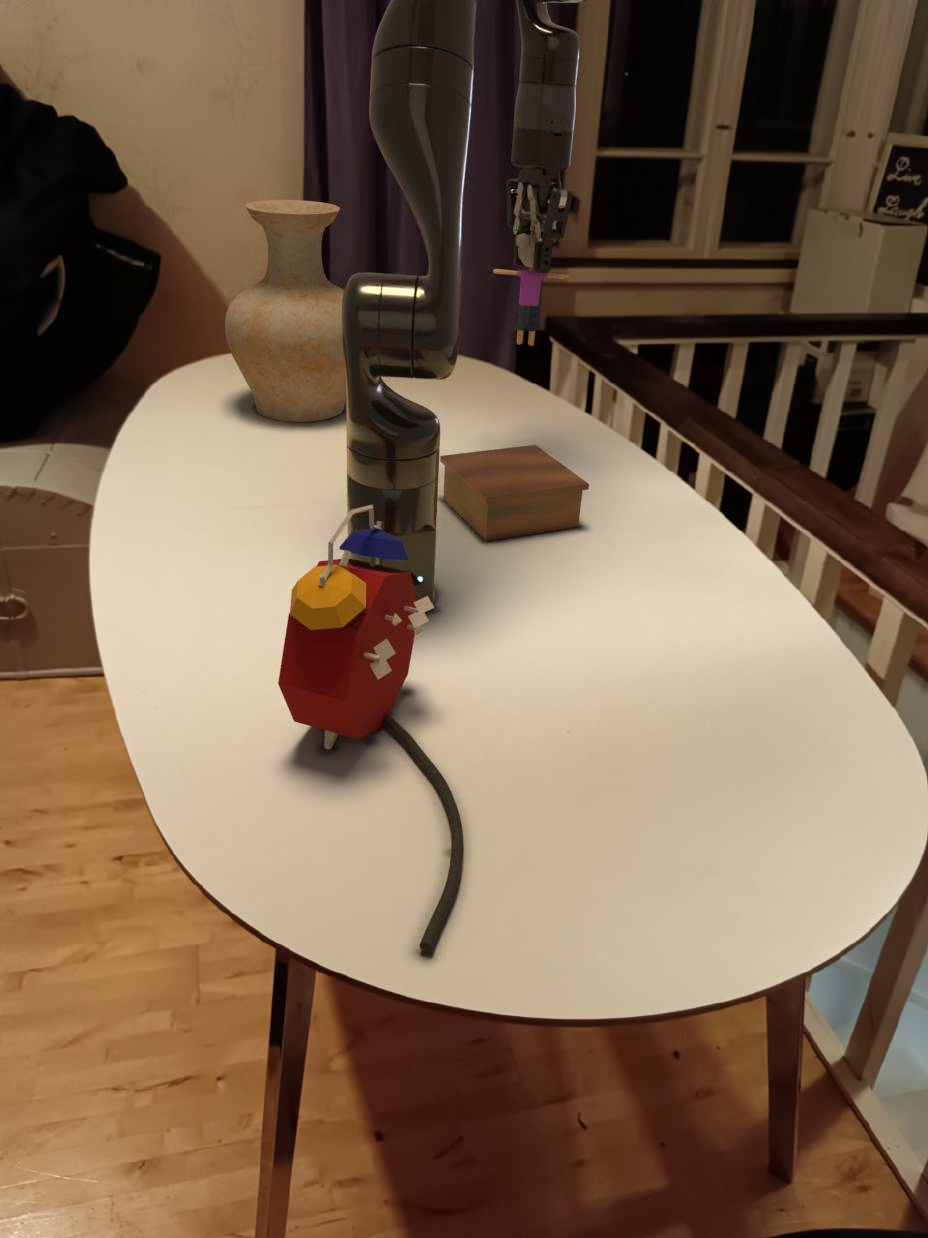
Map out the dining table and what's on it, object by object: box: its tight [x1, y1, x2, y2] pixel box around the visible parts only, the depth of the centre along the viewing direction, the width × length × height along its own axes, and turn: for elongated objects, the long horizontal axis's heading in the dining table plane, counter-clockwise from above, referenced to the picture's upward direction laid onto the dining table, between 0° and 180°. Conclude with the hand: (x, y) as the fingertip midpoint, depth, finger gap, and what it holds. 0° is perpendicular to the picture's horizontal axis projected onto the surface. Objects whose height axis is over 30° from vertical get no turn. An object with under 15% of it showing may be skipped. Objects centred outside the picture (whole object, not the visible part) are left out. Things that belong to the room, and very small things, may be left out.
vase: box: [224, 199, 346, 423], centre depth 146 cm, size 22×22×30 cm
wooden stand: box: [439, 444, 590, 542], centre depth 122 cm, size 14×14×6 cm
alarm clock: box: [277, 505, 435, 750], centre depth 79 cm, size 15×9×20 cm, turn 160°
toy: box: [492, 230, 571, 347], centre depth 129 cm, size 10×6×15 cm, turn 84°
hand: (531, 267), depth 128 cm, fingers closed on toy, 5 cm apart
